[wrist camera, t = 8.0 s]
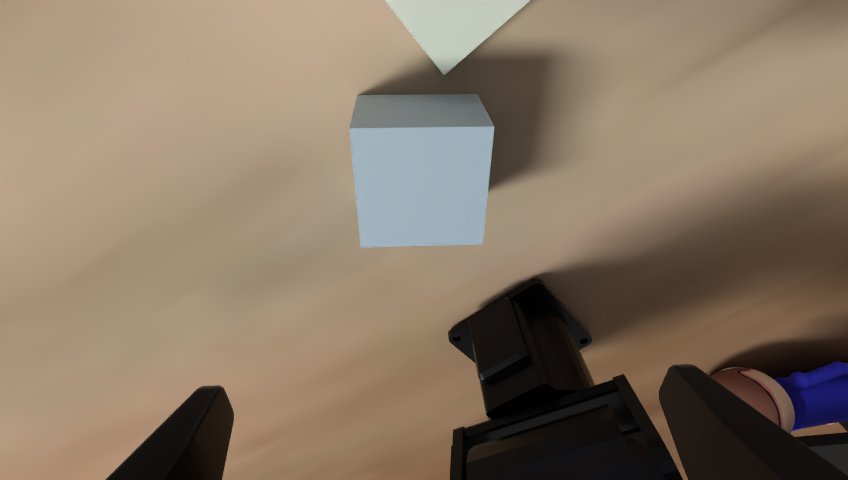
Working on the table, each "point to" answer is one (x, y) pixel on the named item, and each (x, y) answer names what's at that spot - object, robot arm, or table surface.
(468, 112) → the blue brick
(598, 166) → the table surface
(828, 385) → the figurine character
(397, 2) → the baseplate
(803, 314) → the table surface
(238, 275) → the table surface
